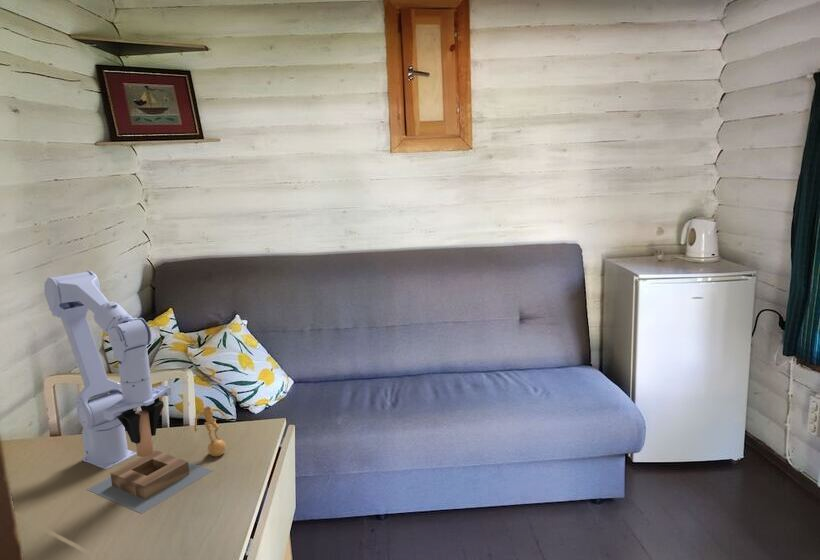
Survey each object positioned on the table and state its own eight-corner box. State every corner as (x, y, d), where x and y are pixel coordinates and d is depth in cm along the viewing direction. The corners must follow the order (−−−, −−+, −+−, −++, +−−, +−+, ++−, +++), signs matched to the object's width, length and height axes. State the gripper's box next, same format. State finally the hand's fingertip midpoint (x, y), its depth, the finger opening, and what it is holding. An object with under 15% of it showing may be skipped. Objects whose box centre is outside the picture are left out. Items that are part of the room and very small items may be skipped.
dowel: (133, 454, 126) (128, 415, 124) (146, 448, 129) (141, 409, 127) (144, 458, 125) (138, 418, 123) (156, 451, 128) (151, 412, 126)
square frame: (112, 485, 127) (110, 472, 126) (156, 461, 136) (155, 449, 135) (145, 499, 121) (143, 486, 121) (189, 474, 131) (188, 461, 130)
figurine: (206, 465, 135) (200, 416, 132) (192, 457, 139) (186, 409, 136) (237, 451, 141) (233, 404, 138) (223, 443, 145) (219, 397, 142)
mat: (86, 491, 126) (86, 489, 126) (159, 453, 141) (159, 451, 141) (141, 515, 117) (141, 513, 117) (213, 472, 132) (213, 470, 132)
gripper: (115, 394, 115) (124, 458, 118) (177, 369, 127) (184, 428, 130) (93, 387, 119) (102, 449, 122) (156, 364, 131) (163, 421, 134)
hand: (143, 438), depth 126 cm, fingers closed on dowel, 3 cm apart
